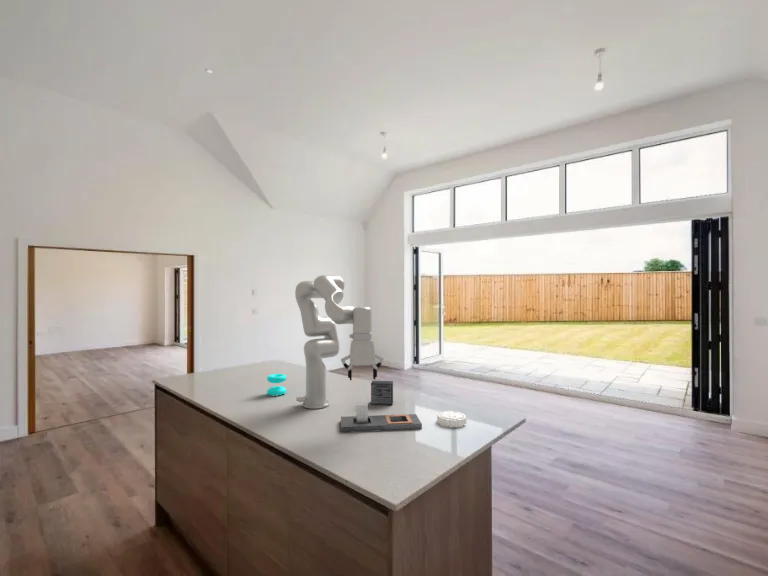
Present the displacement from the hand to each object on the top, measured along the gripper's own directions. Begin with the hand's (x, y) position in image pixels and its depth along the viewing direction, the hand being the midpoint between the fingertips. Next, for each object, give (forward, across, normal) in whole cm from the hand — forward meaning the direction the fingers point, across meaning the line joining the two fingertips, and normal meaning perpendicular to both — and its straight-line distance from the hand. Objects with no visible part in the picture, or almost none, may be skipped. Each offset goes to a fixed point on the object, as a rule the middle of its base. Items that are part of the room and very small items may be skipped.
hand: (362, 379), depth 154 cm
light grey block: (+19, 0, 0) cm, 19 cm away
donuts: (+18, -43, +52) cm, 70 cm away
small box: (+19, +11, +30) cm, 38 cm away
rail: (+19, +7, 0) cm, 20 cm away
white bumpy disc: (+20, +37, 0) cm, 42 cm away
